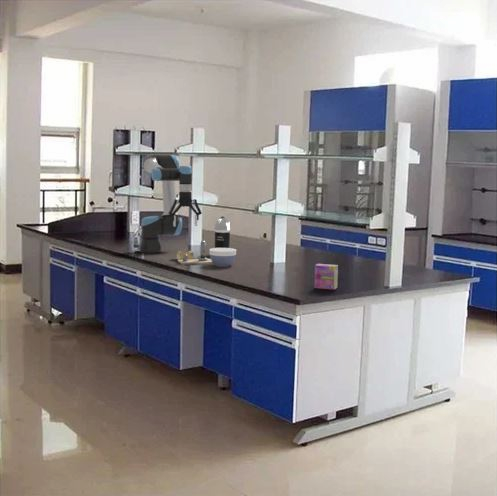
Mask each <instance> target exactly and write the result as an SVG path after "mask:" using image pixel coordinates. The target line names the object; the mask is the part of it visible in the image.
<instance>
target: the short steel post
mask: <svg viewBox="0 0 497 496" xmlns="http://www.w3.org/2000/svg"><path fill="white" fill-rule="evenodd" d="M183 261H185V262H186V261H188V254H183Z"/></svg>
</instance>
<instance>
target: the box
mask: <svg viewBox="0 0 497 496" xmlns="http://www.w3.org/2000/svg"><path fill="white" fill-rule="evenodd" d="M314 265H315V266H314V289H322V290H337V288H338V281H339V280H338V279H339V277H338V276H339V265H338V264H330V263H329V264H324V263H316V264H314Z"/></svg>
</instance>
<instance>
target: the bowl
mask: <svg viewBox="0 0 497 496" xmlns="http://www.w3.org/2000/svg"><path fill="white" fill-rule="evenodd" d="M236 255H237V249H236V248H231V247H230V248H215V247H212V248H209V259H211V260H212V262H213V263H214V264H213V265H214V266H215V267H219V268H228V266H229V267H231V265H232V264H233V263H234V262H235V260H236Z"/></svg>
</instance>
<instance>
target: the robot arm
mask: <svg viewBox="0 0 497 496" xmlns="http://www.w3.org/2000/svg"><path fill="white" fill-rule="evenodd" d="M142 168H143V170H144V171H146V172H147V173H149V174H150V177H151V179H152V181H157V182H159V181H160V182H161V183H162V206H163V213H162V215H161V217H160V216H159V215H150V216H145V217H143V218H142V219H141V224H140V225H141V240H140V245H139V247H138V252H139V253H143V254H144V253H145V254H157V253H162V252H163V248H162V244H161V240H160V236H161V237H162V236H179V235H180V234H181V232H182V230H183V229H182V228H183V218H182V217H180V214H179V213H178V211H179V210H180V209H181V208H182V207H184V208H185V207H189V208H190V210H192V212H193V213H194V226H195V227H197V226H198V221H199V220H200V215H202V210H201V208H200V207H199V204H198V201H197V199H195V198H193V199H192V185H193V184H192V179H193V177H192V174H193V171H192V169H193V168H192V166H191V165H180V161H179V159H178V157H177V156H176V155H174V154H150V155H148V156H146V157H145V158H144V159H143V161H142ZM176 182H179V184H178V189H179V190H178V191H179V192H178V199H177V195H176V194H177V192H176ZM177 203H178V204H177ZM192 203H193V204H194V206H195V207H194V206H193V205H192ZM195 208H196V209H195Z"/></svg>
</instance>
